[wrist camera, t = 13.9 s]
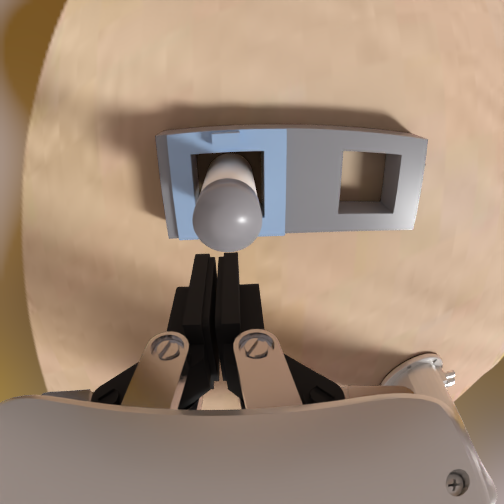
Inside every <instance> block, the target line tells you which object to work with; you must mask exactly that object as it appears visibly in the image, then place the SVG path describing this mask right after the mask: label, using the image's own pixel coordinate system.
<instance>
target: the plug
mask: <svg viewBox="0 0 504 504" xmlns="http://www.w3.org/2000/svg"><path fill="white" fill-rule="evenodd" d="M192 223H193V228H194V231H195V233H196V235H197V237H198V238H199V239H200V240H201V242H203V243H204V244H205V245H206V246H208V247H210V248H211V249H214V250H217V251H221V252H234V251H238V250H241V249H243V248H246V247H247V246H249V245H250V244H251V243H252V242H253V241H254V240H255V239H256V238H257V236H258V235H259V233H260V230H261V227H262V213H261V208H260V203H259V199H258V197H257V192H256V187H255V182H254V177H253V172H252V168H251V165H250V164H249V162H248V161H247V160H246V159H245V158H244V157H242V156H240V155H238V154H234V153H226V154H222V155H220V156H218V157H217V158H215V159H214V160H213V161H212V162H211V164H210V166H209V168H208V171H207V174H206V177H205V180H204V183H203V186H202V189H201V193H200V195H199V197H198V199H197V202H196V206H195V209H194V212H193V217H192Z"/></svg>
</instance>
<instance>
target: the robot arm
mask: <svg viewBox="0 0 504 504" xmlns="http://www.w3.org/2000/svg"><path fill="white" fill-rule="evenodd" d="M219 364H221V370H222V376H223V381H227V385H228V390H230V391H231V392H232V393H234V394H235V395H236V396H238V397H239V403H240V408H241V409H240V410H201V408H202V403H203V395H204V394H205V393H207V392H208V391H209V390H210V389H214V381H219ZM442 366H443V362H442V360H441V358H440V357H439V356H438V355H437V354H432V353H429V354H423V355H419V356H416V357H414V358H412V359H409V360H407V361H406V362H404V363H402V364H401V365H399V366H398V367H396V368H395V369H394V370H393V371H391V372H390V373H389V374H388V375H387V376H386V377H385V379H384V380H383V381H382V383H381V385H380V386H366V385H349V386H348V388H340V386H338V385H337V384H336V383H334V382H332V381H331V380H329V379H327V378H325V377H323V376H322V375H320V374H318V373H316V372H315V371H313V370H311V369H309V368H307V367H306V366H304V365H302V364H301V363H299V362H297V361H295V360H294V359H292V358H290V357H289V356H287V355H285V354H283V351H282V348H281V346H280V343H279V341H278V339H277V337H276V336H275V335H273V334H272V333H271V332H268V331H266V330H264V323H263V315H262V307H261V299H260V290H259V284H244V285H240V284H239V266H238V252H236V253H224V257H219V261H218V276H217V272H216V262H215V257H210V254H196V255H195V259H194V264H193V269H192V275H191V280H190V285H189V287H177V289H176V293H175V297H174V301H173V306H172V310H171V314H170V319H169V324H168V328H167V332H163V333H160V334H157V335H155V336H154V337H153V338H151V339H150V340H149V342H148V343H147V345H146V347H145V350H144V352H143V354H142V356H141V359H140V361H139V362H138V363H136V364H135V365H133V366H132V367H130V368H128V369H127V370H125V371H124V372H122V373H121V374H119V375H117V376H116V377H114V378H113V379H111V380H110V381H108V382H106V383H105V384H103V385H102V386H100V387H99V388H98V389H96V390H95V392H91V390H90V389H88V390H75V391H60V392H47V393H43V394H42V395H25V396H19V397H14V398H10V399H7V400H5V401H3V402H1V403H0V504H495V503H496V500H497V490H496V487H495V484H494V482H493V480H492V479H491V477H490V475H489V474H488V472H487V471H486V469H485V468H484V466H483V464H482V462H481V460H480V458H479V456H478V454H477V452H476V450H475V448H474V446H473V443H472V441H471V439H470V437H469V434H468V432H467V430H466V428H465V426H464V423H463V421H462V419H461V417H460V415H459V413H458V410H457V408H456V406H455V404H454V402H453V400H452V398H451V396H450V394H449V392H448V390H447V388H446V387H448V386H451V385H453V384H454V382H455V379H454V376H455V372H454V371H453V370H452V371H449V372H447V373H444V372H443V370H442Z"/></svg>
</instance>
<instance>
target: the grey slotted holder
mask: <svg viewBox="0 0 504 504" xmlns="http://www.w3.org/2000/svg"><path fill="white" fill-rule="evenodd" d="M155 137H156V147H157V156H158V165H159V173H160V181H161V189H162V196H163V203H164V210H165V217H166V223H167V230H168V236H169V239H171V238H179V240H193V239H199V238H198V237H197V235H196V233H195V231H194V228H193V223H192V217H193V212H194V209H195V206H196V202H197V199H198V197H199V195H200V191H199V180H198V168H197V155H196V154H204V153H220V152H241V151H261V200H262V203H260V208H261V213H262V227H261V230H260V233H259V235H258V236H283V235H285V233H306V232H337V231H374V230H413V228H414V223H415V219H416V214H417V209H418V204H419V198H420V193H421V187H422V181H423V174H424V167H425V160H426V152H427V144H428V139H425V138H423V137H420V136H417V135H415V134H412V133H405V132H397V131H389V130H380V129H371V128H360V127H347V126H330V125H306V124H250V125H225V126H209V127H196V128H185V129H175V130H166V131H163V132H161V133H159V134H158V135H156V136H155ZM343 151H358V152H374V153H386V161H385V170H384V179H383V186H382V194H381V201H380V202H370V201H339V198H340V187H341V174H342V161H343ZM258 236H257V237H258Z"/></svg>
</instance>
